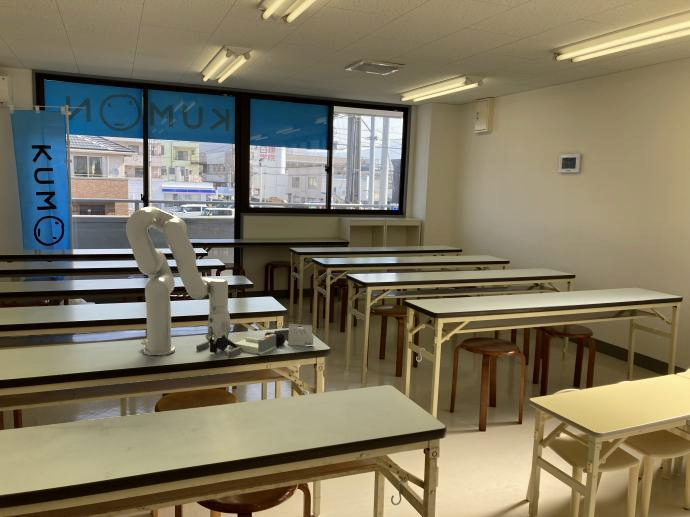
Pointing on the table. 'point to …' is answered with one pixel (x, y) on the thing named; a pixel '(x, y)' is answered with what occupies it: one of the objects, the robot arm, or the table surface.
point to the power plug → (224, 343)
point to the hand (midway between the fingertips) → (218, 349)
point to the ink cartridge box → (300, 335)
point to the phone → (284, 332)
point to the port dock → (257, 344)
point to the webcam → (278, 338)
